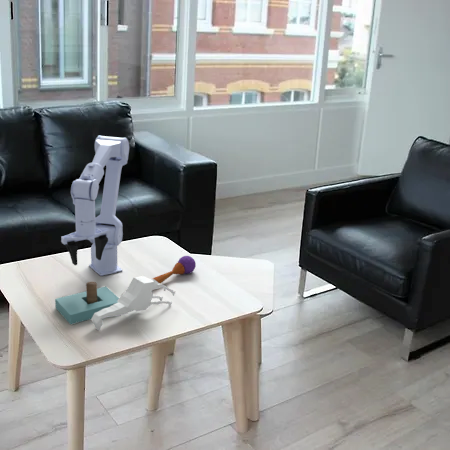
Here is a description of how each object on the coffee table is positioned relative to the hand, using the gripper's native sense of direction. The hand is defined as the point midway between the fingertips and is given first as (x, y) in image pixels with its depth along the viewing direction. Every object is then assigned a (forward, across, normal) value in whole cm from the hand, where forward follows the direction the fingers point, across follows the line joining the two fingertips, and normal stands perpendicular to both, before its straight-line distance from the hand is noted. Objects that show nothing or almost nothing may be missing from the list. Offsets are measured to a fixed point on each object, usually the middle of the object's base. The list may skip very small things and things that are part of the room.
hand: (86, 261), depth 191 cm
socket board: (+10, -4, -10) cm, 15 cm away
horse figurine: (+11, +5, -20) cm, 23 cm away
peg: (+10, -3, -10) cm, 15 cm away
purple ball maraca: (+11, +27, -5) cm, 30 cm away
